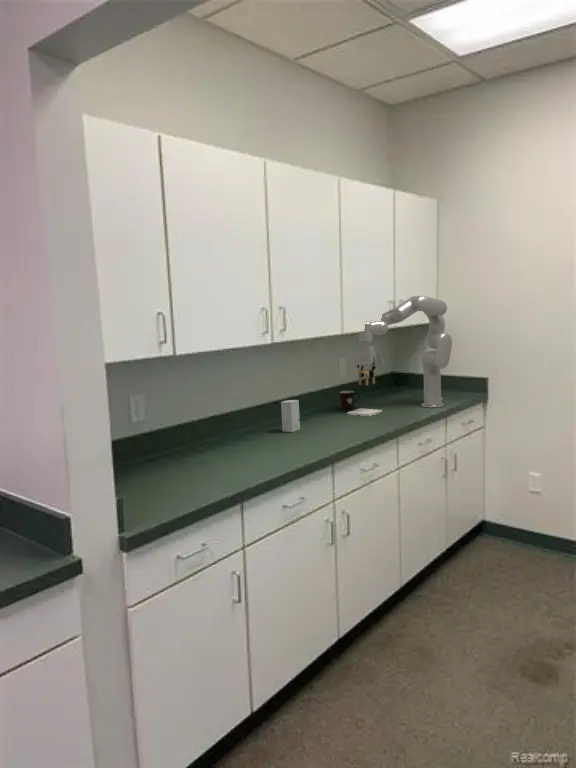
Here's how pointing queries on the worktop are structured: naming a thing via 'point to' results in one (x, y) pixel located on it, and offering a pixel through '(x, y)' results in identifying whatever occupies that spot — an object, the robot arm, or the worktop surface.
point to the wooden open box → (366, 376)
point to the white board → (364, 412)
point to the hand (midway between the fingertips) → (366, 377)
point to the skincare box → (290, 415)
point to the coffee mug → (347, 399)
